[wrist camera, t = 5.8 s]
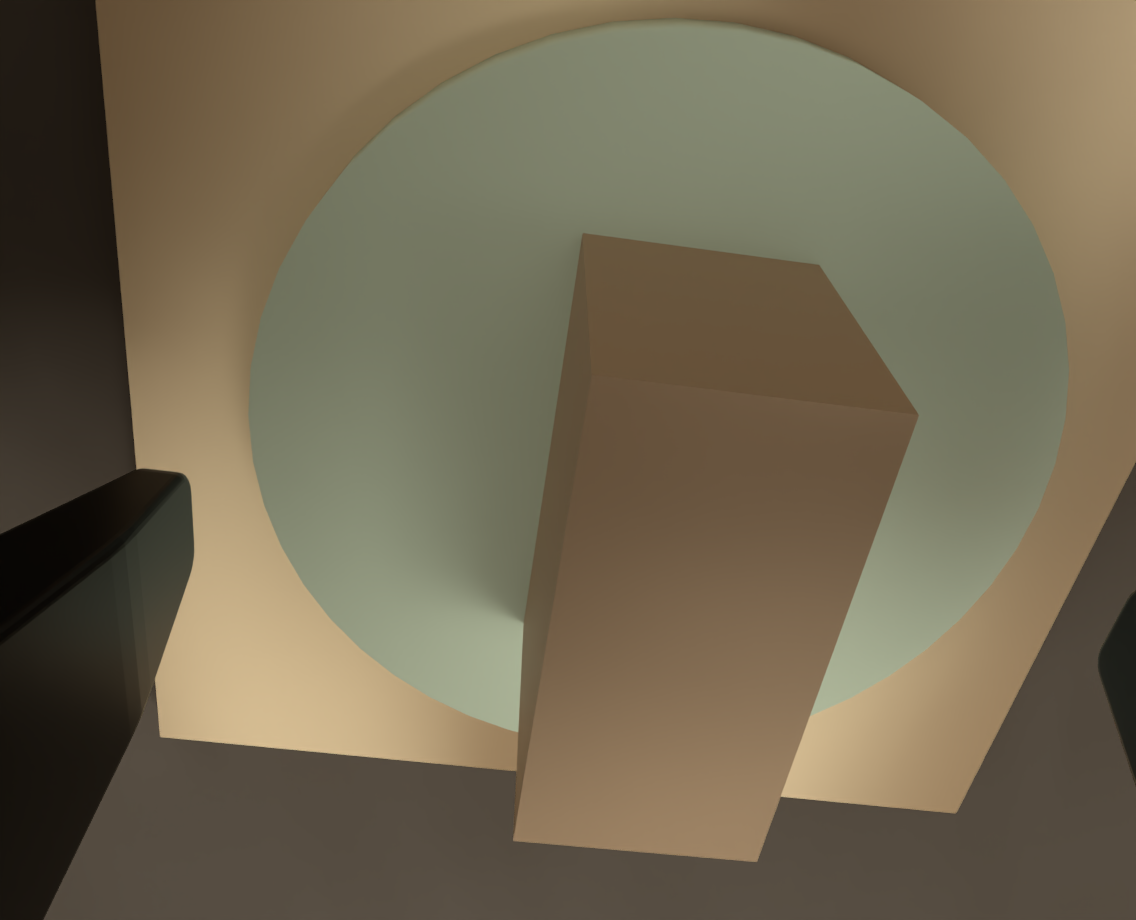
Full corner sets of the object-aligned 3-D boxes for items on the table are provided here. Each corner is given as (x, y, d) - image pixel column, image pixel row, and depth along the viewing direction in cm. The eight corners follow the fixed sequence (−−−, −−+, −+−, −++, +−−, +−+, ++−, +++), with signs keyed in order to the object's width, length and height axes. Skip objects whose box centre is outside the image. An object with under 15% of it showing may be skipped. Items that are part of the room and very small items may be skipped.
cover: (1176, 89, 10) (1507, 205, 6) (898, 733, 14) (1005, 1003, 11) (260, -53, 9) (79, -6, 6) (272, 672, 14) (174, 941, 10)
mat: (1353, -57, 10) (1398, -52, 9) (942, 782, 16) (955, 813, 15) (99, -278, 9) (70, -287, 8) (174, 706, 15) (160, 737, 14)
